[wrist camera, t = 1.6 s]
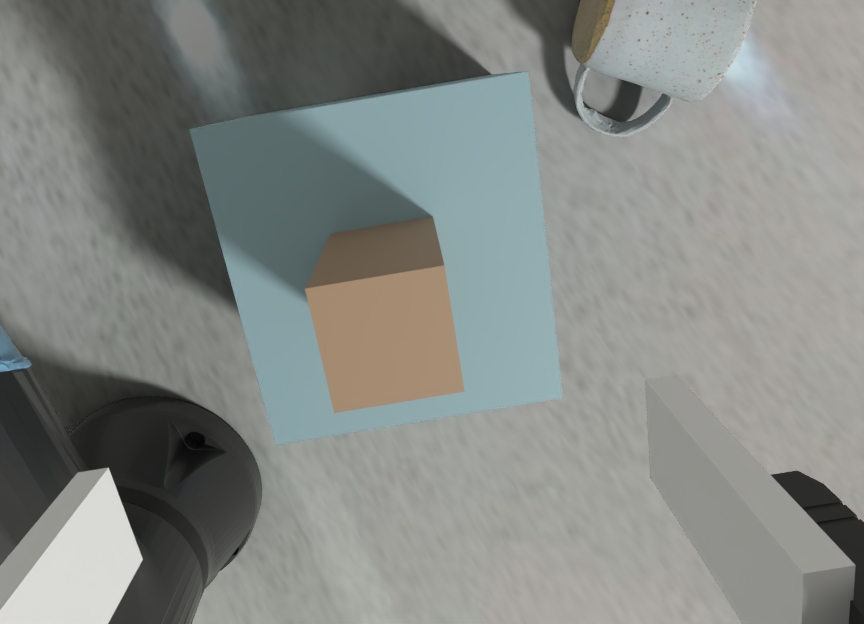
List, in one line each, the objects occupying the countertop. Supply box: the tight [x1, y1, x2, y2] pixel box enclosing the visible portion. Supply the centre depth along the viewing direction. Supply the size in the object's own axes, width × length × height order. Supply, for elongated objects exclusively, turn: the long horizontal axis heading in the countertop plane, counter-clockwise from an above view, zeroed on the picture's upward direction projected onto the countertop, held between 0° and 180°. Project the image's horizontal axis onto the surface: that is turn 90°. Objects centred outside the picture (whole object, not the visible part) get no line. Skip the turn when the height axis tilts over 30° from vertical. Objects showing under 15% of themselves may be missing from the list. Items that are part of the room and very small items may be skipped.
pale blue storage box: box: [189, 71, 563, 445], centre depth 34 cm, size 16×17×22 cm
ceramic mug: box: [572, 0, 757, 137], centre depth 38 cm, size 11×8×8 cm
